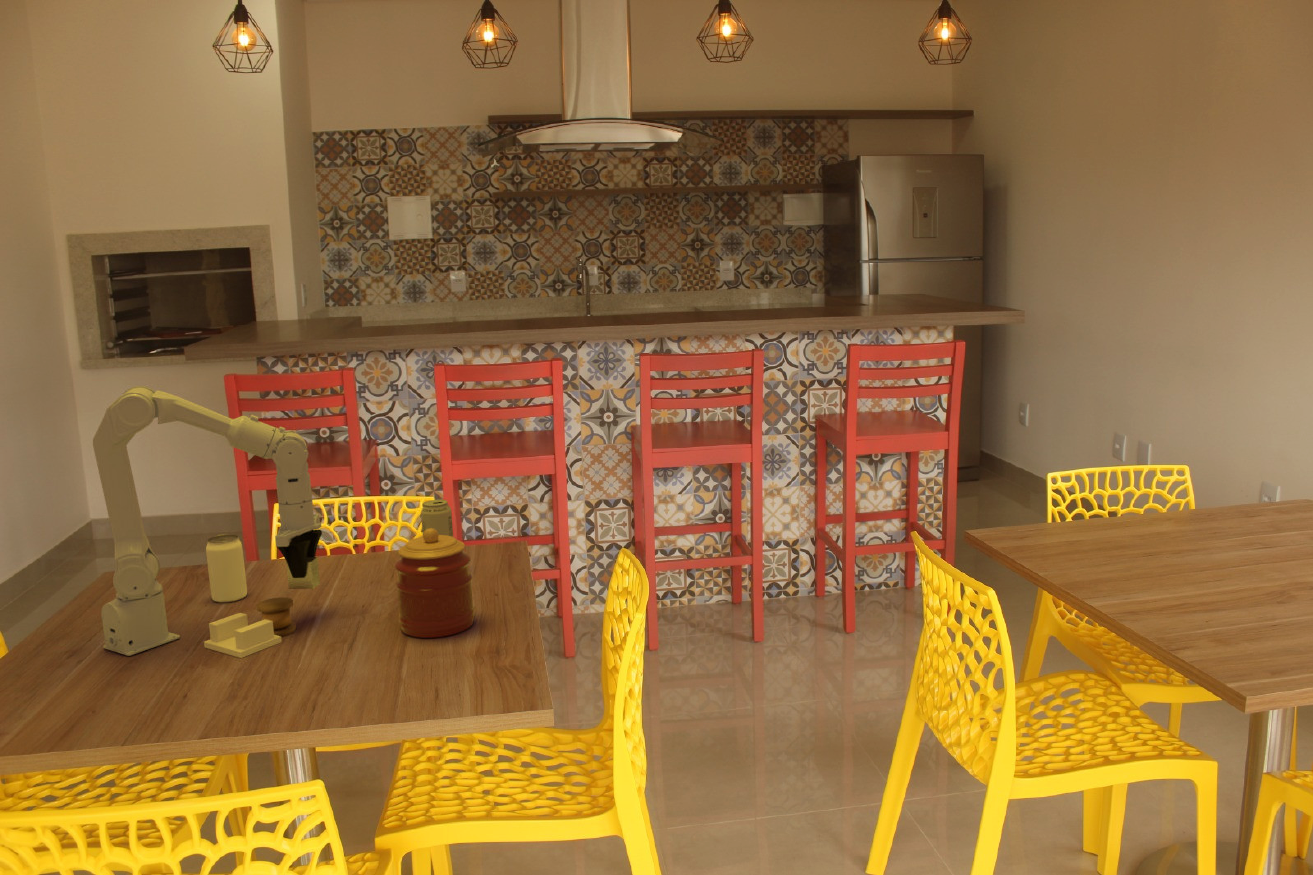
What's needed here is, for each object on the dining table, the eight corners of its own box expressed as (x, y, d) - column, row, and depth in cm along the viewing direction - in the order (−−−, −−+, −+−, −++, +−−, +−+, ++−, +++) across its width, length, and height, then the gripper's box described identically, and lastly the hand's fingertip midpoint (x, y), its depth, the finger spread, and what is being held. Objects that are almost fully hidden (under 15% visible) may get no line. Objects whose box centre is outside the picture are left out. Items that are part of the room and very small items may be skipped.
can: (223, 605, 200) (216, 544, 198) (205, 599, 204) (198, 539, 202) (254, 595, 205) (247, 536, 203) (235, 590, 209) (229, 531, 207)
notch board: (240, 658, 173) (238, 635, 173) (204, 647, 179) (201, 624, 178) (281, 642, 180) (279, 619, 179) (245, 632, 185) (242, 610, 185)
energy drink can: (424, 571, 216) (418, 500, 214) (454, 568, 218) (448, 497, 215) (427, 580, 211) (421, 507, 208) (457, 576, 212) (452, 504, 210)
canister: (401, 643, 177) (392, 542, 174) (398, 618, 189) (390, 523, 186) (479, 633, 180) (471, 534, 177) (471, 609, 193) (464, 515, 190)
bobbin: (274, 640, 181) (271, 611, 180) (252, 634, 184) (249, 605, 183) (303, 628, 186) (300, 600, 185) (281, 623, 189) (278, 595, 188)
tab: (313, 589, 188) (310, 562, 187) (288, 588, 188) (286, 562, 187) (319, 583, 191) (317, 557, 190) (295, 583, 191) (293, 557, 190)
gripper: (300, 510, 179) (308, 587, 182) (332, 490, 193) (339, 561, 196) (260, 511, 180) (269, 587, 182) (295, 491, 194) (303, 562, 196)
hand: (303, 574), depth 189 cm, fingers closed on tab, 3 cm apart
